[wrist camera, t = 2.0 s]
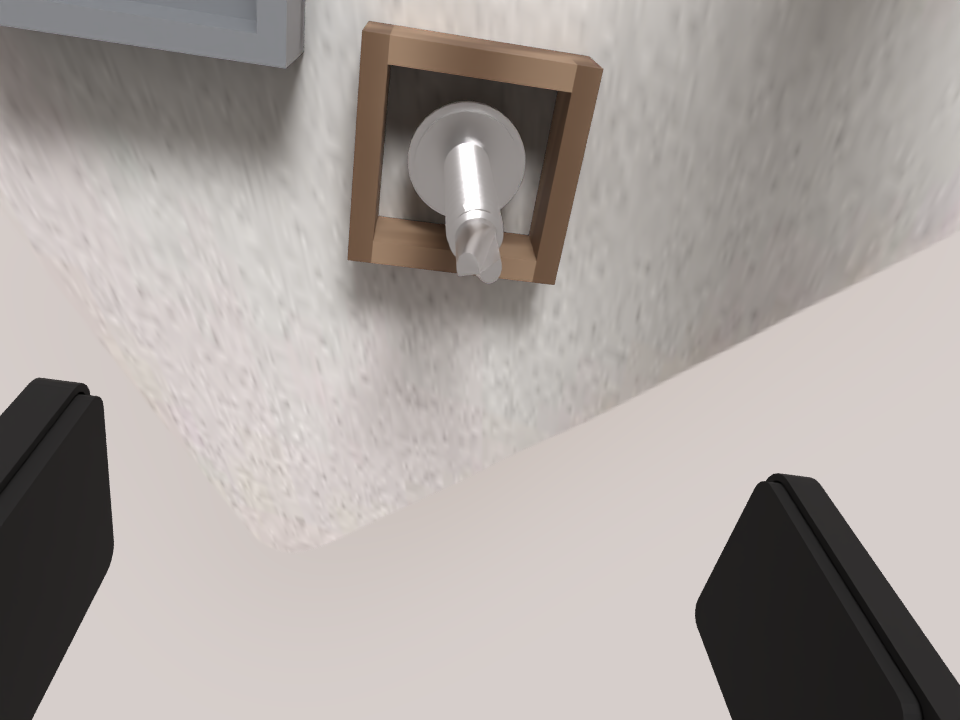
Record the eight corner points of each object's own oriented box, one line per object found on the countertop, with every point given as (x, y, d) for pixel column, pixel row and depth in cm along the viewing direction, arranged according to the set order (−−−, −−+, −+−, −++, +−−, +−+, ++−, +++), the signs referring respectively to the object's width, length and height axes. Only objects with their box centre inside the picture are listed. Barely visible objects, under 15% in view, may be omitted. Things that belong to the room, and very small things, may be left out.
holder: (588, 56, 30) (603, 69, 27) (545, 257, 34) (554, 284, 32) (369, 21, 28) (362, 30, 26) (354, 234, 33) (347, 260, 30)
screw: (390, 121, 31) (494, 72, 30) (438, 220, 33) (536, 177, 32) (362, 233, 19) (528, 160, 19) (438, 371, 22) (588, 311, 21)
